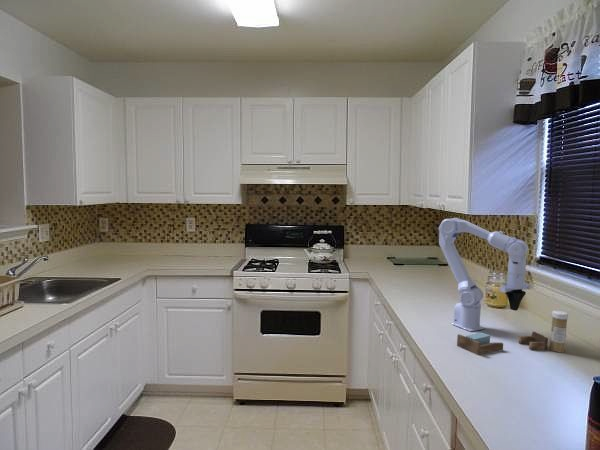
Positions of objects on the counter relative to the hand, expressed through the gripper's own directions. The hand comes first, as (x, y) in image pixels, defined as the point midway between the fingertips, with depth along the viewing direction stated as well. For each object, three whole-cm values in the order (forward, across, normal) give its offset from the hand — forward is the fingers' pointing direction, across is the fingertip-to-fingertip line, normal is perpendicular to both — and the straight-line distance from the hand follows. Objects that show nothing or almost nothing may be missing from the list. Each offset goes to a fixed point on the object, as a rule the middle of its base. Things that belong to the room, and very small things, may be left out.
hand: (514, 309), depth 154 cm
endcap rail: (+10, -21, -2) cm, 24 cm away
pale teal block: (+11, -21, -2) cm, 24 cm away
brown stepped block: (+10, -2, -9) cm, 14 cm away
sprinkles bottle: (+11, +3, -15) cm, 18 cm away
